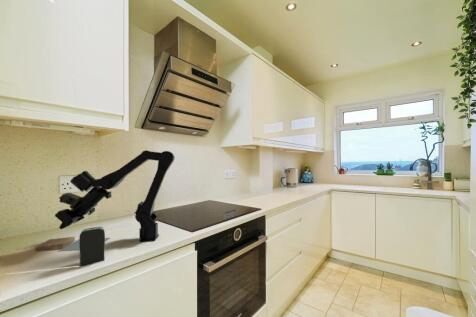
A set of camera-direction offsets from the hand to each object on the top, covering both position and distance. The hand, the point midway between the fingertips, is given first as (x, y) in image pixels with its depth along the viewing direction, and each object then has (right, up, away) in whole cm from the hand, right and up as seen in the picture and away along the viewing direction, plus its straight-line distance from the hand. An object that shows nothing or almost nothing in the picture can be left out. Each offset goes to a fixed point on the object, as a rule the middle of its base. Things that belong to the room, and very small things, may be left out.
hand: (60, 228), depth 82 cm
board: (+3, -6, +1) cm, 7 cm away
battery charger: (+23, -7, -14) cm, 27 cm away
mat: (+10, -7, +1) cm, 12 cm away
